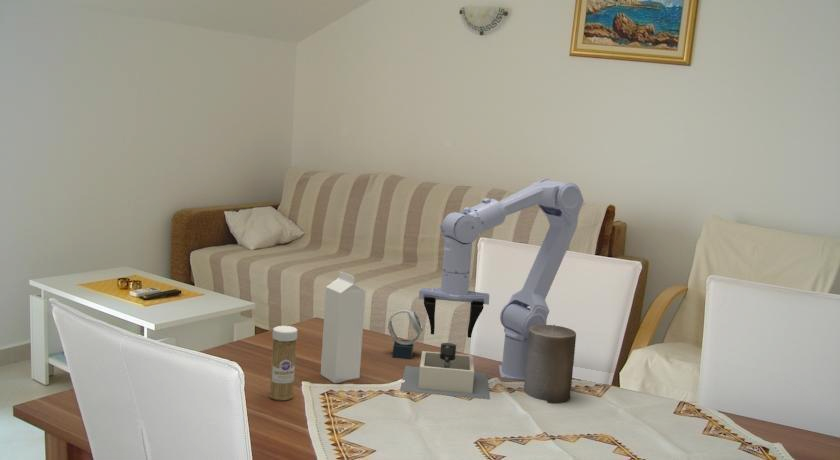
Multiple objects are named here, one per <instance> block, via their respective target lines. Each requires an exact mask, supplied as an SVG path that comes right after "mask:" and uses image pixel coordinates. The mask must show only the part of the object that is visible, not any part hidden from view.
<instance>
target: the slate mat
mask: <svg viewBox="0 0 840 460" xmlns="http://www.w3.org/2000/svg"><path fill="white" fill-rule="evenodd" d="M419 371H420V366H411V365H405V366H404V370H403V374H402V375H403V376H402V380H405V382H404V383H402V382H401V385H400V389H399V392H405V393H416V394H418V393H419V394H428V395H437V396H438V395H439V396H447V397H448V396H450V397H459V398H470V399H481V400H483V399H484V400H491V395H490V387H489V381H488V374H487V372H477V371H476V372H475V371H474V380H473V391H472V393H465V392H454V391H443V390H432V389H421V388H418V383H419ZM402 380H401V381H402Z"/></svg>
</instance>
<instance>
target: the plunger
mask: <svg viewBox="0 0 840 460" xmlns="http://www.w3.org/2000/svg"><path fill="white" fill-rule="evenodd" d="M439 352H440V358H441V359H443V360H444V368H450V360H455V355H456V354H457V344H455V343H452V342H451V343H450V342H442V343H440V351H439Z"/></svg>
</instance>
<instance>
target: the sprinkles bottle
mask: <svg viewBox="0 0 840 460" xmlns="http://www.w3.org/2000/svg"><path fill="white" fill-rule="evenodd" d="M271 339H272V351H271V352H272V353H271V362H270V363H271V365H270V386H269V387H270V388H269V390H270V391H269V398H270V399H272V400H275V401H289V400H291V399H292V398H294V382H295V370H296V369H295V368H296V347H297V346H296V345H297V339H298V328H296V327H294V326H291V325H290V326H289V325H278V326H275V327H273V328H272V337H271Z"/></svg>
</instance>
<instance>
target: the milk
mask: <svg viewBox="0 0 840 460" xmlns="http://www.w3.org/2000/svg"><path fill="white" fill-rule="evenodd" d="M324 299H325V301H324V311H323V312H324V315H323V329H322V332H323V333H322V343H321V344H322V345H321V347H322V348H321V359H320V360H321V362H320V376H322V377H324V378H325V379H327V380H329V381H330V382H331V383H333V384H339V383H345V382H346V381H348V380H355V379H360V378H361V377H360V375H361V372H360V371H361V362H362V347H363V335H364V334H363V333H364V330H363V329H364V320H365V319H364V317H365V304H366V303H365V300H366V290H364V289H363V288H362V287H360V286H359V285H357V284H355V276H354V275H352V274H349V273H346V272H345V271H342V270H339V272H338V277H337V278H336V279H334V280H333V281H332V282H331V283H329V284H328V285H326V287H325V297H324Z"/></svg>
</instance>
